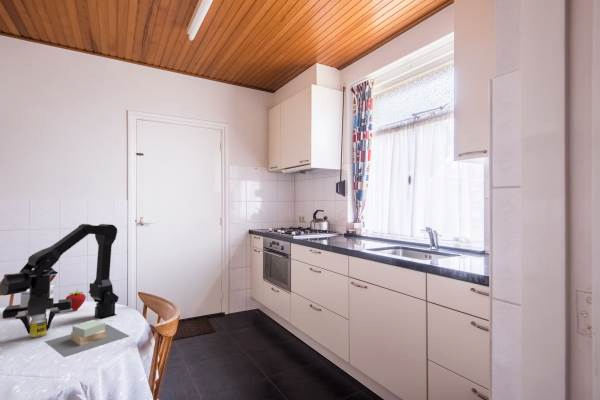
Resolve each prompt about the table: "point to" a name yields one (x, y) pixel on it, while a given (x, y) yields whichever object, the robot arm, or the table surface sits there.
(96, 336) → the tower bottom
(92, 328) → the tower top
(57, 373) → the table surface
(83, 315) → the table surface
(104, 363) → the table surface
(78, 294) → the strawberry
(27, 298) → the light bulb box
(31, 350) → the table surface
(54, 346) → the mat
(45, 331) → the supplement bottle
